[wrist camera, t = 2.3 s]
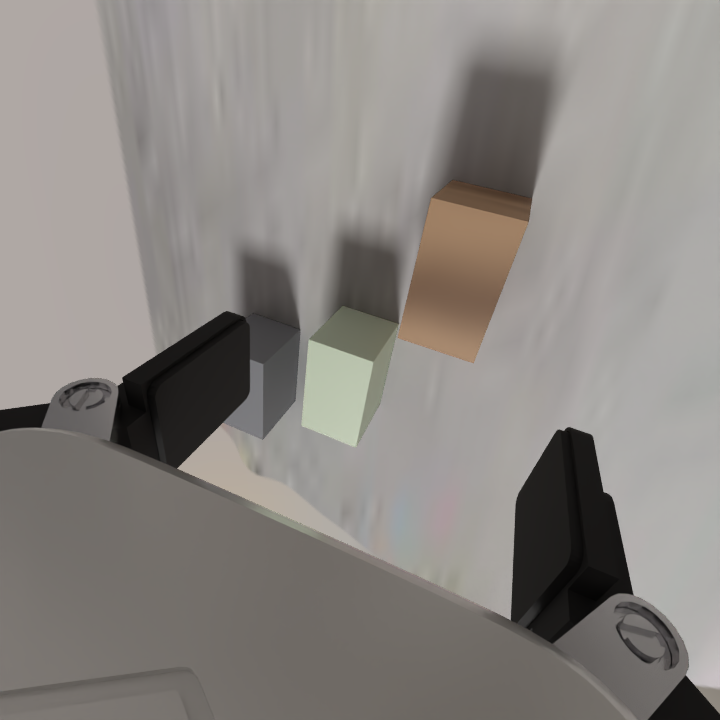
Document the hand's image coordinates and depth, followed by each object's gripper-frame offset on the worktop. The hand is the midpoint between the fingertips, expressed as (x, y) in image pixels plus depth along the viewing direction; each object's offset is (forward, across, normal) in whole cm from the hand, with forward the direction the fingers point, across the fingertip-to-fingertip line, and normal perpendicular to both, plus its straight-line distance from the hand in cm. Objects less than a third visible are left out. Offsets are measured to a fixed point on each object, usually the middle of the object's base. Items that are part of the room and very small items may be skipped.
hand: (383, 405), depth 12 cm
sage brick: (+14, +4, +8) cm, 17 cm away
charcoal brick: (+14, +11, +11) cm, 21 cm away
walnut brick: (+14, -1, -1) cm, 14 cm away
